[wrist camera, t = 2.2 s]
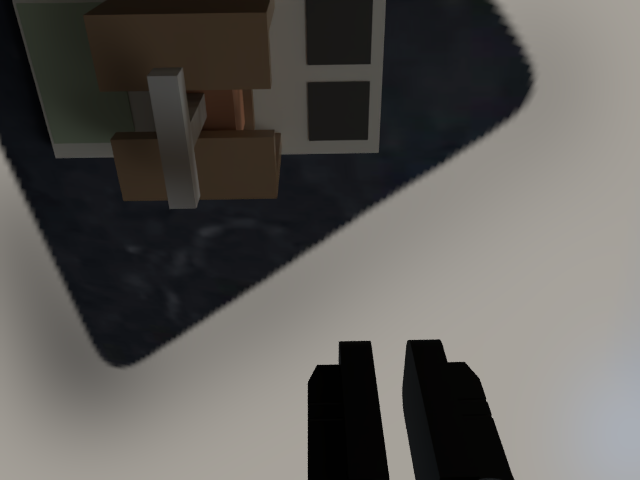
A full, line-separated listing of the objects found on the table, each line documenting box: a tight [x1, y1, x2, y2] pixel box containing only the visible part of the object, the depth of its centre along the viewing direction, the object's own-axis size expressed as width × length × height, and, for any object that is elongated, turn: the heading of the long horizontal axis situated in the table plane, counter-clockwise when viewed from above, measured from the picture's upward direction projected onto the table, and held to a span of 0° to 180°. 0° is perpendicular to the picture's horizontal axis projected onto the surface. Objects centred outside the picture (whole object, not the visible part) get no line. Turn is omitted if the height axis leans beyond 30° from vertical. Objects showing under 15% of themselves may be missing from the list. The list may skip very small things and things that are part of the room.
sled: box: [147, 67, 255, 209], centre depth 29 cm, size 6×5×10 cm
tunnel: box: [12, 0, 386, 201], centre depth 31 cm, size 10×20×8 cm, turn 91°
